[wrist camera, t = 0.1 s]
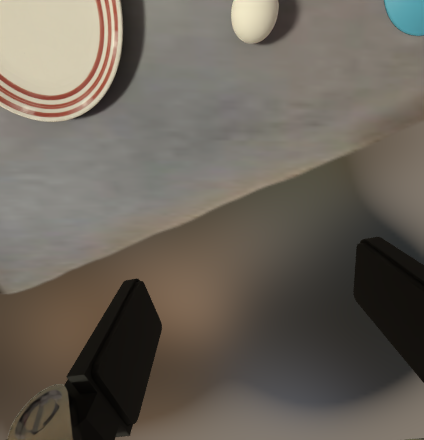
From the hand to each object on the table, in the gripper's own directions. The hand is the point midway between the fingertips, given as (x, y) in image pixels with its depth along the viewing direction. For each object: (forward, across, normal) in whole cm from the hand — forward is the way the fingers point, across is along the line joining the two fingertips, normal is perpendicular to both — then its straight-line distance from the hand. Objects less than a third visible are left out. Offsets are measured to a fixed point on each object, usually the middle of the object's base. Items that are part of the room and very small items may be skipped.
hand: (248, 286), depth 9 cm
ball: (+28, -8, -19) cm, 35 cm away
